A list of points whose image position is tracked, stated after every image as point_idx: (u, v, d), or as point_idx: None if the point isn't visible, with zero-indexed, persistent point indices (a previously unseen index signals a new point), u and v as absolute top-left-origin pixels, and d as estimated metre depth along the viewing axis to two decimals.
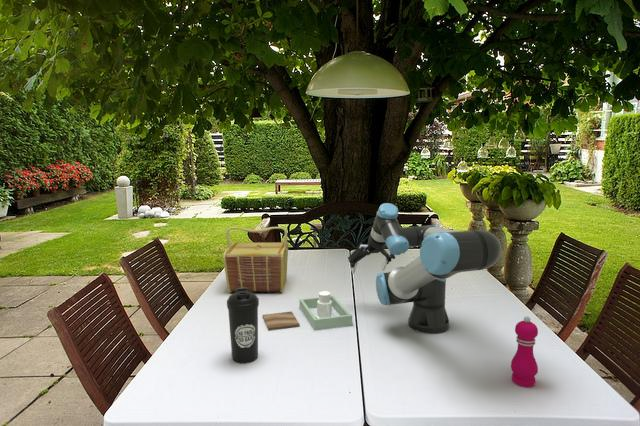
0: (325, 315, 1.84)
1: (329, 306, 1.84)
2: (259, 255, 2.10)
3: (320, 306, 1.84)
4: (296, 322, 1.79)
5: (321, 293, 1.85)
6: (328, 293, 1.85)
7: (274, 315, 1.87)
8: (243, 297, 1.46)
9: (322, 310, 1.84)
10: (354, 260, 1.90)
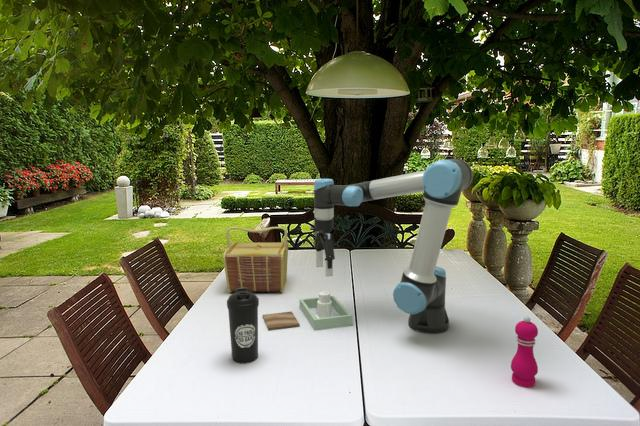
0: (325, 315, 1.84)
1: (329, 306, 1.84)
2: (259, 255, 2.10)
3: (320, 306, 1.84)
4: (296, 322, 1.79)
5: (321, 293, 1.85)
6: (328, 293, 1.85)
7: (274, 315, 1.87)
8: (243, 297, 1.46)
9: (322, 310, 1.84)
10: None
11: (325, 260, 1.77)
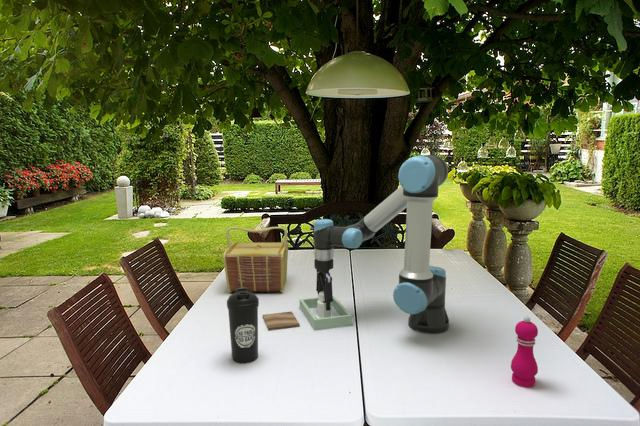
0: None
1: None
2: (259, 255, 2.10)
3: (320, 306, 1.84)
4: (296, 322, 1.79)
5: (321, 293, 1.85)
6: None
7: (274, 315, 1.87)
8: (243, 297, 1.46)
9: (322, 310, 1.84)
10: None
11: (323, 302, 1.82)
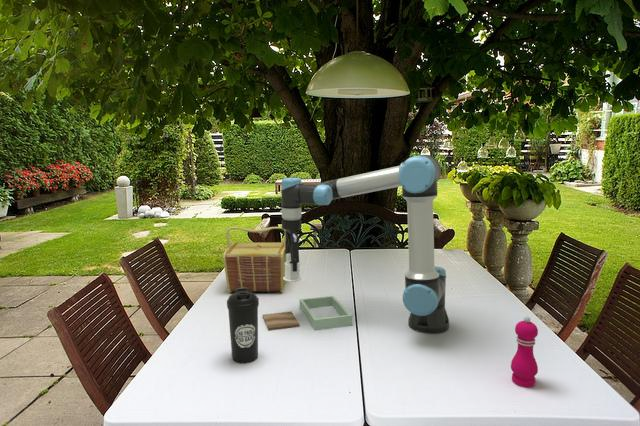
0: None
1: None
2: (259, 255, 2.10)
3: (287, 267, 1.78)
4: (296, 322, 1.79)
5: (288, 254, 1.80)
6: None
7: (274, 315, 1.87)
8: (243, 297, 1.46)
9: (289, 271, 1.78)
10: None
11: (290, 263, 1.76)
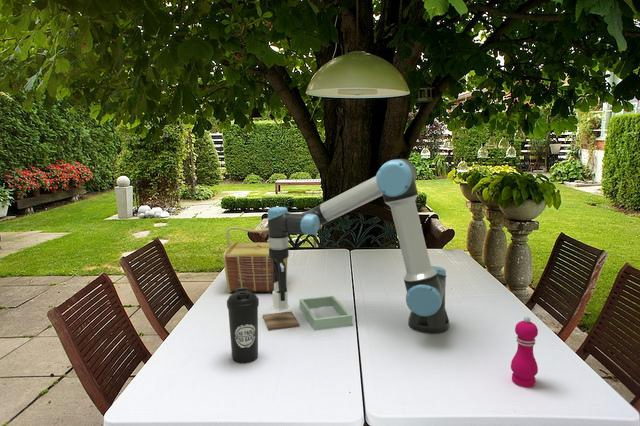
0: None
1: None
2: (259, 255, 2.10)
3: (275, 296, 1.78)
4: (296, 322, 1.79)
5: (276, 283, 1.80)
6: None
7: (274, 315, 1.87)
8: (243, 297, 1.46)
9: (277, 301, 1.78)
10: None
11: (278, 292, 1.76)
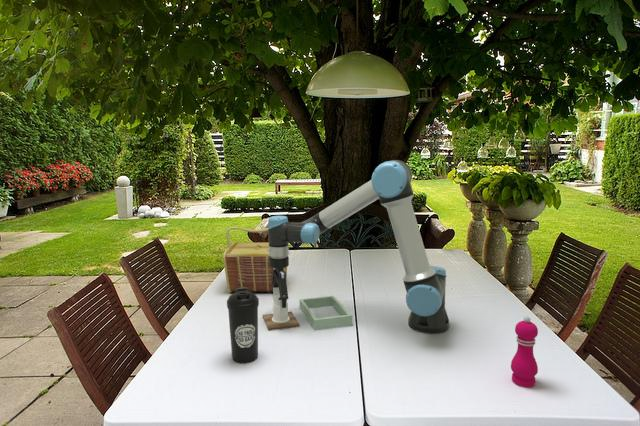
0: (281, 318, 1.79)
1: None
2: (259, 255, 2.10)
3: (275, 309, 1.79)
4: (296, 322, 1.79)
5: (277, 295, 1.80)
6: None
7: None
8: (243, 297, 1.46)
9: (277, 313, 1.79)
10: (285, 296, 1.73)
11: (279, 299, 1.74)
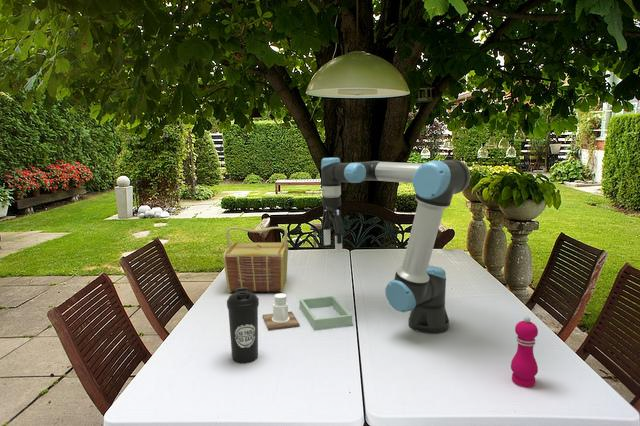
0: (281, 318, 1.79)
1: (285, 309, 1.79)
2: (259, 255, 2.10)
3: (275, 309, 1.79)
4: (296, 322, 1.79)
5: (277, 295, 1.80)
6: (284, 295, 1.80)
7: None
8: (243, 297, 1.46)
9: (277, 313, 1.79)
10: None
11: (335, 236, 1.83)
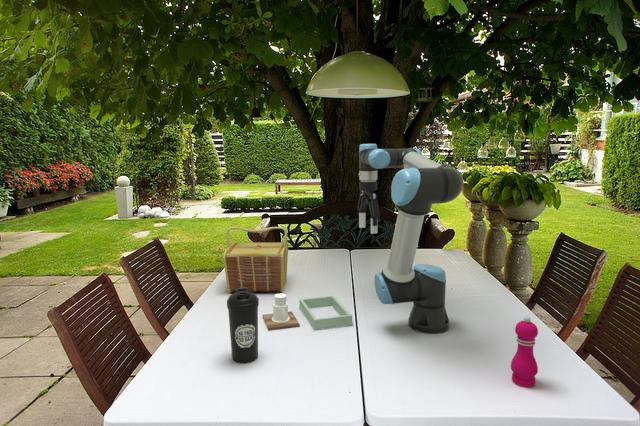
0: (281, 318, 1.79)
1: (285, 309, 1.79)
2: (259, 255, 2.10)
3: (275, 309, 1.79)
4: (296, 322, 1.79)
5: (277, 295, 1.80)
6: (284, 295, 1.80)
7: None
8: (243, 297, 1.46)
9: (277, 313, 1.79)
10: None
11: None
